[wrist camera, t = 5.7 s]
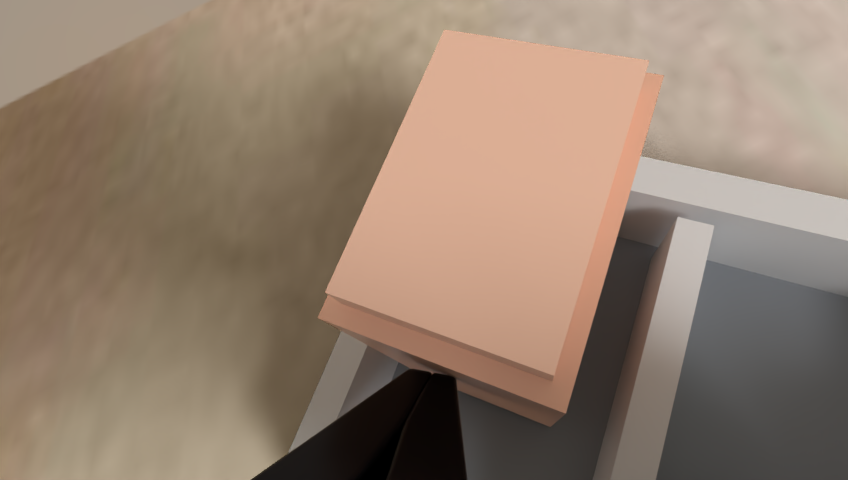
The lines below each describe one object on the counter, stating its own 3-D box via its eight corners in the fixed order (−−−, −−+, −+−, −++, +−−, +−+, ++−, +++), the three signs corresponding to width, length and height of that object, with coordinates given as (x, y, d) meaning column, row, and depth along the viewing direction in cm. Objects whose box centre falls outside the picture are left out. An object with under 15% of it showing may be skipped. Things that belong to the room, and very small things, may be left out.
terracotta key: (429, 379, 14) (298, 307, 6) (487, 225, 16) (436, 12, 8) (550, 427, 13) (568, 410, 5) (600, 257, 14) (674, 46, 7)
